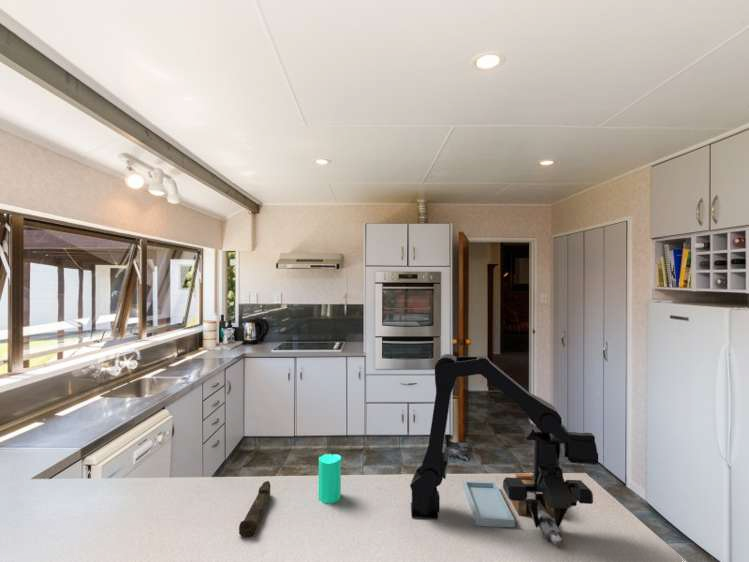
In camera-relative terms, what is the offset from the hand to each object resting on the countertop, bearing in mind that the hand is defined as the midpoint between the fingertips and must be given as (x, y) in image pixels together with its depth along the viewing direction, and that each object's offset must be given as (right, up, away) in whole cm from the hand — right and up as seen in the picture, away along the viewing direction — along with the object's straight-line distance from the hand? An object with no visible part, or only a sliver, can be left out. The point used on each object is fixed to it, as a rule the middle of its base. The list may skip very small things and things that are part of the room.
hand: (546, 527), depth 91 cm
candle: (-52, -1, +14) cm, 54 cm away
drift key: (+1, -1, +12) cm, 12 cm away
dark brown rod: (-69, -1, +6) cm, 70 cm away
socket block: (+1, -1, +11) cm, 11 cm away
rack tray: (-11, -1, +11) cm, 16 cm away
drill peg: (0, -1, 0) cm, 1 cm away
